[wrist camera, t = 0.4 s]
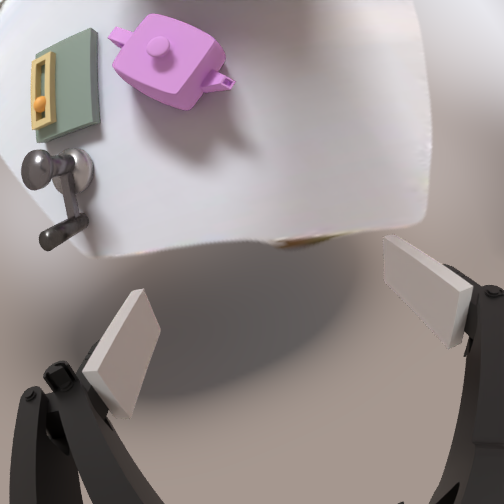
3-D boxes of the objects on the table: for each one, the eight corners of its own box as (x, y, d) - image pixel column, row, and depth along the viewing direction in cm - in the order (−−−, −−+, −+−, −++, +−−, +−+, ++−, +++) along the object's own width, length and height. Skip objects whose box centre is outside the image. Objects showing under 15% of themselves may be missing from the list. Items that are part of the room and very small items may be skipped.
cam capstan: (54, 153, 35) (12, 159, 25) (89, 141, 35) (49, 142, 25) (69, 231, 39) (31, 254, 29) (103, 224, 39) (68, 247, 29)
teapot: (254, 70, 33) (259, 44, 24) (211, 130, 36) (203, 123, 26) (150, 22, 29) (128, -8, 20) (110, 78, 32) (77, 62, 22)
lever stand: (43, 57, 29) (27, 51, 24) (97, 32, 29) (83, 22, 24) (45, 142, 34) (26, 143, 29) (100, 122, 34) (84, 120, 29)
